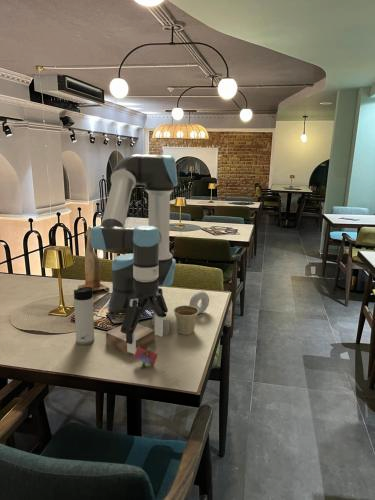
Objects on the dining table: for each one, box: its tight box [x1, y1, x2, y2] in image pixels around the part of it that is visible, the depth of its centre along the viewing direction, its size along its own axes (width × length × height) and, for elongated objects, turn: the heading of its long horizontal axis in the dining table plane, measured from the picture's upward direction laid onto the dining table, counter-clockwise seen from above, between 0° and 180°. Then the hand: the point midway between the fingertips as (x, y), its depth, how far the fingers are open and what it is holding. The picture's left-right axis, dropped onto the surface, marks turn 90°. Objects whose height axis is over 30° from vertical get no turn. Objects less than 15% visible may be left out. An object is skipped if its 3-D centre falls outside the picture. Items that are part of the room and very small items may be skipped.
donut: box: [188, 290, 210, 315], centre depth 155 cm, size 10×4×10 cm, turn 129°
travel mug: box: [73, 287, 95, 346], centre depth 128 cm, size 6×7×20 cm
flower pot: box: [173, 305, 199, 336], centre depth 139 cm, size 9×9×9 cm
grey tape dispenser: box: [151, 312, 170, 336], centre depth 141 cm, size 6×1×10 cm
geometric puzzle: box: [133, 344, 159, 368], centre depth 116 cm, size 7×7×8 cm
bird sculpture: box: [77, 226, 110, 292], centre depth 175 cm, size 11×12×32 cm
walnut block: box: [105, 323, 156, 357], centre depth 130 cm, size 12×12×5 cm
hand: (145, 343), depth 115 cm, fingers open, 13 cm apart
